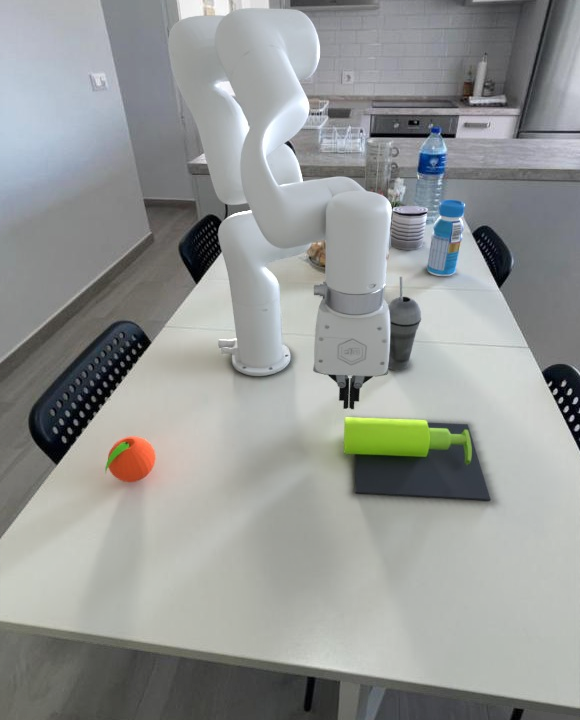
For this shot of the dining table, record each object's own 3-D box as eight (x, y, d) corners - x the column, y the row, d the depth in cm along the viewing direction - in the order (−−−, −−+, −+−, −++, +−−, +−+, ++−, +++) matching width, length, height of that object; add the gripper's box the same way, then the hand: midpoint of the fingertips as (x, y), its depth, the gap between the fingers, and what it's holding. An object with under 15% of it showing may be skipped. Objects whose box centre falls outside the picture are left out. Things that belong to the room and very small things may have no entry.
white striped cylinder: (388, 249, 147) (392, 212, 140) (389, 236, 156) (392, 202, 149) (424, 250, 146) (429, 214, 139) (422, 238, 155) (427, 203, 148)
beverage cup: (413, 376, 91) (427, 287, 80) (377, 372, 92) (386, 284, 81) (414, 356, 97) (427, 270, 85) (380, 352, 98) (388, 268, 87)
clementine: (128, 503, 67) (116, 471, 63) (99, 484, 70) (85, 452, 66) (168, 468, 72) (159, 436, 68) (139, 451, 75) (129, 420, 71)
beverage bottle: (425, 275, 130) (435, 206, 119) (427, 264, 137) (437, 197, 125) (455, 278, 128) (468, 208, 117) (456, 267, 135) (469, 199, 123)
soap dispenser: (345, 452, 69) (477, 457, 67) (345, 411, 72) (471, 415, 71) (343, 464, 74) (467, 469, 72) (344, 425, 77) (461, 429, 76)
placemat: (355, 493, 68) (355, 491, 68) (354, 420, 81) (354, 419, 81) (490, 500, 66) (490, 499, 66) (467, 425, 79) (467, 424, 79)
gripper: (293, 307, 55) (297, 417, 65) (416, 310, 54) (400, 422, 64) (299, 280, 61) (302, 385, 71) (410, 283, 60) (396, 389, 70)
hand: (348, 402), depth 68 cm, fingers closed
